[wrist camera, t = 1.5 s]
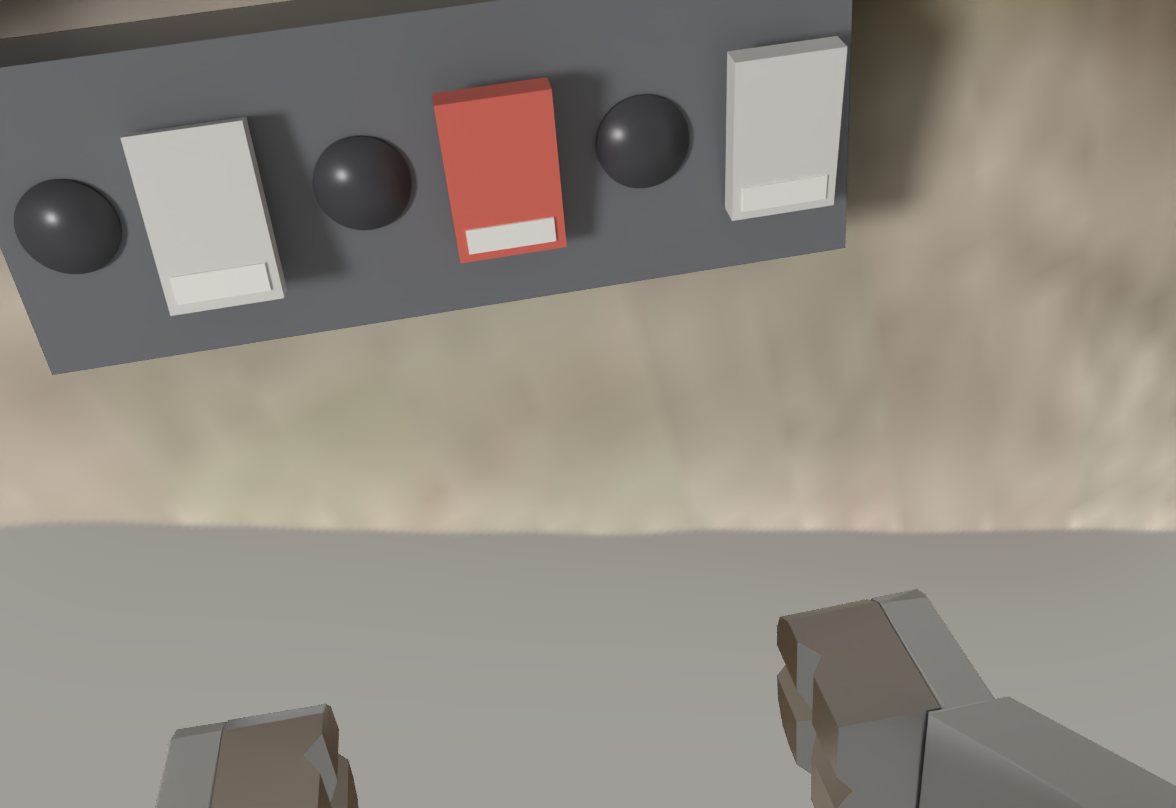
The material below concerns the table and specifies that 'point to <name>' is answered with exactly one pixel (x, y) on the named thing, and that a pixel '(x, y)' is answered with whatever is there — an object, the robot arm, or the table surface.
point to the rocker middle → (501, 168)
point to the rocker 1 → (205, 215)
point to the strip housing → (382, 157)
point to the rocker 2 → (783, 126)
